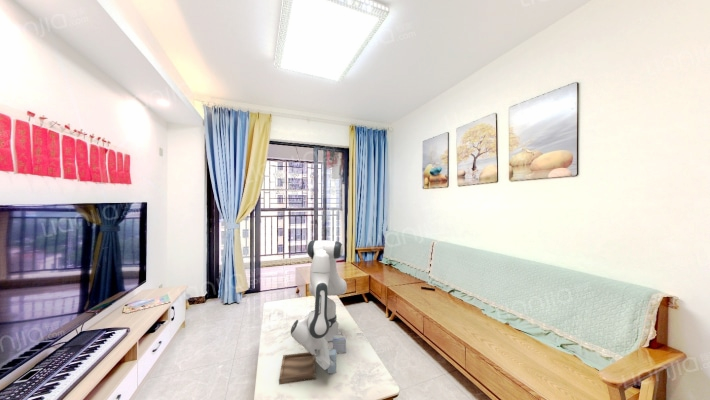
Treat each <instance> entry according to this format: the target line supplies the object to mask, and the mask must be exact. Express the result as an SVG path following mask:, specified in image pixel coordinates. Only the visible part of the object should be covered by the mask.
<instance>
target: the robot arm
mask: <svg viewBox="0 0 710 400" xmlns="http://www.w3.org/2000/svg"><path fill="white" fill-rule="evenodd" d="M306 251H307V252H306V253H307V255H308V256H309V258H310V259H311V260H312V261H311V265H310V271H309V272H310V273H309V279H310V281H309V284H308V291H309V293H310V295H312V296H313V297H314V310H311V311H310V312H309V313H308V314H306V315H305V316H304V317H301V318H299V319H296V321H294V323H293V324H292V326H291V328H290V336H291V337H292V338H293V340H295V342H296V343H298V344H299V345H300V346H302V347H304V349H305V350H306V351H307V352H309V353H311V354H312V355H314V354H315V362H316V363H317V364H318V365H319V367H321V368H322V369H323V370H324V371H325V370H327V368H328V367H329V366H330V365H331V366H333V365H334V361H333V360H332V361H331V360H330V357H329V350H330V348H329V342H333V336H334V335H342V332H341V330H340V328H339V322H338V321H337V313H336V312H337V311H336V310H337V305H336V302H335V301H334V299H331V298H329V297H330V296H332V297H333V296H341V295H344V294H345V293H346V292H347V290H348V285H347V282H346V280H345V279H344V278H342V277H341V276H340V275H339V273H338V271H337V270H338V268H337V259H340V258H342V255H343V252H344V247H343V244H342V243H341V241H334V240H328V239H327V240H326V239H325V240H322V239H321V240H318V239H317V240H316V239H315V240H310V241H309V242H308V244H307V247H306Z"/></svg>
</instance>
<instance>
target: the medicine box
mask: <svg viewBox="0 0 710 400" xmlns="http://www.w3.org/2000/svg"><path fill="white" fill-rule="evenodd" d="M346 340H347V336H346V335H342V334H341V335H334V336H333V341H332V349H336V354H346V351H347V348H346V344H347V341H346Z"/></svg>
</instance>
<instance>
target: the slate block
mask: <svg viewBox="0 0 710 400" xmlns="http://www.w3.org/2000/svg"><path fill="white" fill-rule="evenodd" d="M329 357H330V360H331V361H332V360H333V361H334V365H333V366H331V365H330V366H329V367H328V368H327V369H326V370H327V374H329V373H330V374H336V373H337V353H336V349H333V348H331V349H329Z"/></svg>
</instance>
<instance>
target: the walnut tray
mask: <svg viewBox="0 0 710 400" xmlns="http://www.w3.org/2000/svg"><path fill="white" fill-rule="evenodd" d="M314 380H316V357H315V354H314V355H312V354H311V353H309V352H308V351H307V352H299V353H290V354H283V355H282V361H281V366H280V372H279V377H278V385H284V384H291V383H298V382H300V383H301V382H304V381H305V382H307V381H314Z"/></svg>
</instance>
